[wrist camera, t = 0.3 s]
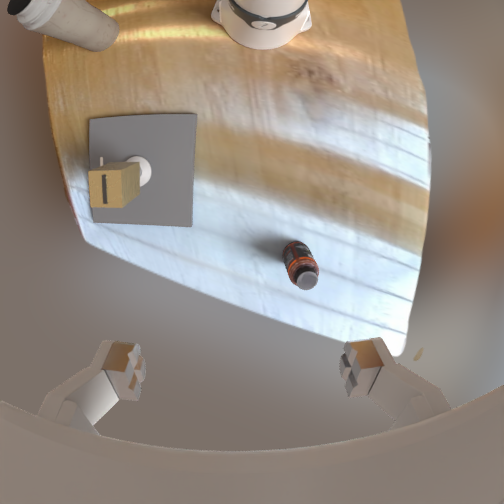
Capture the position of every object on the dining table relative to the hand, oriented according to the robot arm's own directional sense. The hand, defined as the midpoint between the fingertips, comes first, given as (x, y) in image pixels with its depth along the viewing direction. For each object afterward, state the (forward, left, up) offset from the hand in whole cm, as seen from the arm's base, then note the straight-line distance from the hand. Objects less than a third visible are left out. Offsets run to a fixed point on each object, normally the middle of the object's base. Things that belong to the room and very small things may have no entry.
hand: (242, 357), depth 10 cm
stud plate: (+1, -20, -46) cm, 50 cm away
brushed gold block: (+1, -20, -38) cm, 43 cm away
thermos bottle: (-29, -31, -47) cm, 63 cm away
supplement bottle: (+17, +13, -47) cm, 51 cm away
